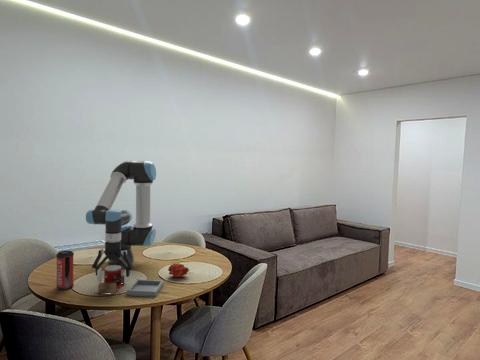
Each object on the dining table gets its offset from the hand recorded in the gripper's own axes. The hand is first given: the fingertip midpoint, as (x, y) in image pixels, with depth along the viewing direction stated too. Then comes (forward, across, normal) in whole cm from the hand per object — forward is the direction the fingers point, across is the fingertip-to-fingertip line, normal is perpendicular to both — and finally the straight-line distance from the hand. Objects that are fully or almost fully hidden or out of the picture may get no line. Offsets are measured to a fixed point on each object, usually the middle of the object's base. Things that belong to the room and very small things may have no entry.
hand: (112, 282), depth 156 cm
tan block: (+3, 0, 0) cm, 3 cm away
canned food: (+4, 0, 0) cm, 4 cm away
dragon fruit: (+3, +29, +20) cm, 36 cm away
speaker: (+4, -24, -1) cm, 24 cm away
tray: (+3, +17, 0) cm, 17 cm away
